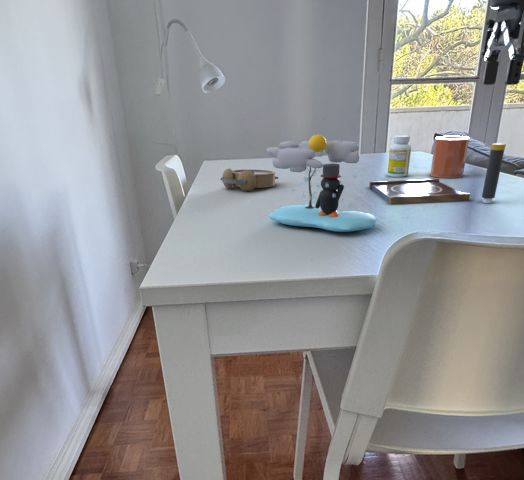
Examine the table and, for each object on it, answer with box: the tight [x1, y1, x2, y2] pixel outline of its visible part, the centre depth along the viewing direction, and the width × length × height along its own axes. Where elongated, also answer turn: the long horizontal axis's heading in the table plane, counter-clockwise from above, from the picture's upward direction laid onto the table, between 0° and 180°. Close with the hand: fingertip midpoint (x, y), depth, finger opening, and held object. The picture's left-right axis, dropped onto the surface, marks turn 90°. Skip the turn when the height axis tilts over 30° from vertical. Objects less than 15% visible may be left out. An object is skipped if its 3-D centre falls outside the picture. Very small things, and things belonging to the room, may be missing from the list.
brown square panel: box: [368, 178, 471, 205], centre depth 105 cm, size 17×17×1 cm
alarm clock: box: [220, 168, 279, 192], centre depth 117 cm, size 11×5×15 cm
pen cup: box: [430, 135, 470, 179], centre depth 120 cm, size 8×8×9 cm
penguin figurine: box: [266, 133, 377, 233], centre depth 81 cm, size 20×11×15 cm, turn 51°
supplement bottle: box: [387, 134, 412, 178], centre depth 123 cm, size 5×5×10 cm
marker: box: [481, 142, 507, 204], centre depth 93 cm, size 2×2×11 cm
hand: (499, 84), depth 85 cm, fingers open, 8 cm apart
